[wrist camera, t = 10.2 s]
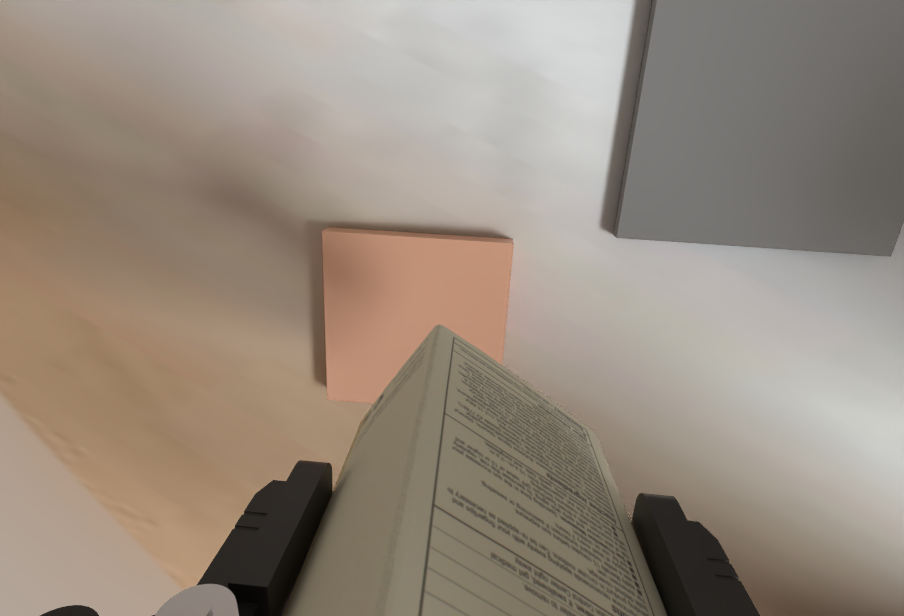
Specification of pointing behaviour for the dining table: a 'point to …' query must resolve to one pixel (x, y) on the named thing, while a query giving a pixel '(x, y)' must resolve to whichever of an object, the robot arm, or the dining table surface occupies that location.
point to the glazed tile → (406, 301)
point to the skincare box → (472, 505)
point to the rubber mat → (769, 126)
